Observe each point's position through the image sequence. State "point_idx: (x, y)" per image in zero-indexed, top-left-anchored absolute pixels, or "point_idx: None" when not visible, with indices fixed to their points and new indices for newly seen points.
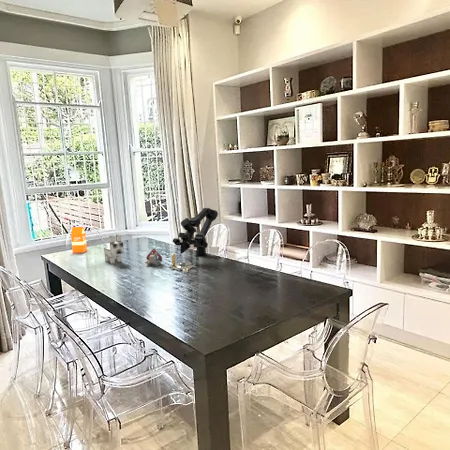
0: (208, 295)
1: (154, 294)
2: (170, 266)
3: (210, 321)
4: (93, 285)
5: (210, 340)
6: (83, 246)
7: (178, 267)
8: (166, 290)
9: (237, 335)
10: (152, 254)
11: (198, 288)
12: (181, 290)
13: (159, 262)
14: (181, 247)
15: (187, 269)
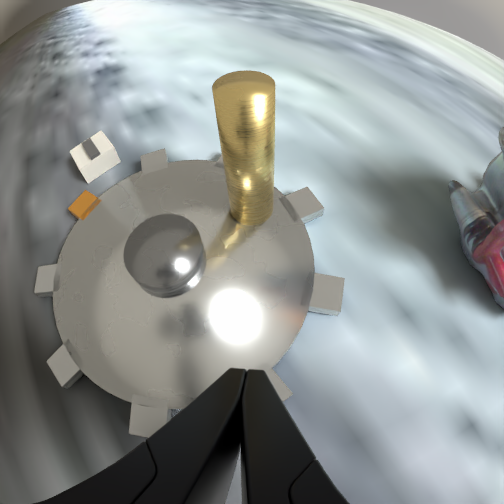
0: (16, 66)
1: (157, 10)
2: (290, 194)
3: (31, 32)
4: (398, 14)
5: (38, 20)
6: None
7: (181, 191)
8: (130, 26)
9: (9, 38)
10: None
11: (33, 72)
12: (83, 44)
13: (453, 206)
14: (277, 479)
15: (75, 155)
